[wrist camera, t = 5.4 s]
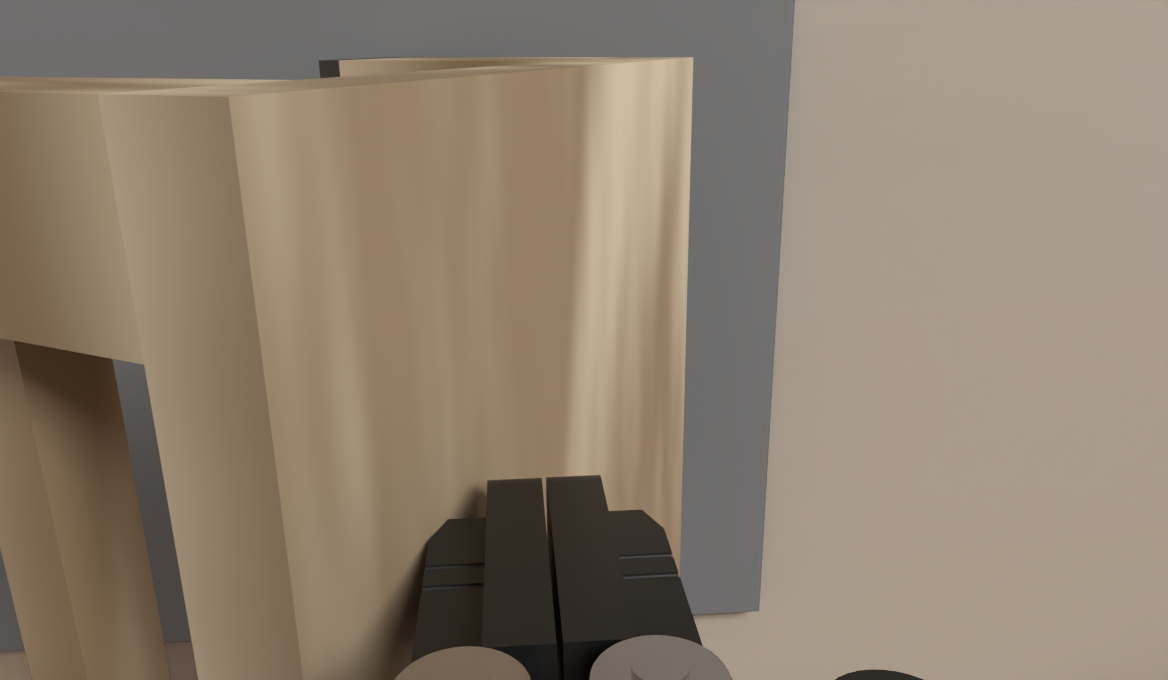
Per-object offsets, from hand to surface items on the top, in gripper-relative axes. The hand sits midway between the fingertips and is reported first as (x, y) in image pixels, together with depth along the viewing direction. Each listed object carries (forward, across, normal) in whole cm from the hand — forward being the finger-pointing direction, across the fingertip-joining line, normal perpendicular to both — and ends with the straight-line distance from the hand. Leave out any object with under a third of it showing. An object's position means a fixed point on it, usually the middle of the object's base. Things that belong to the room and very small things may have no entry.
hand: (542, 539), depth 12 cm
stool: (+9, 0, 0) cm, 9 cm away
